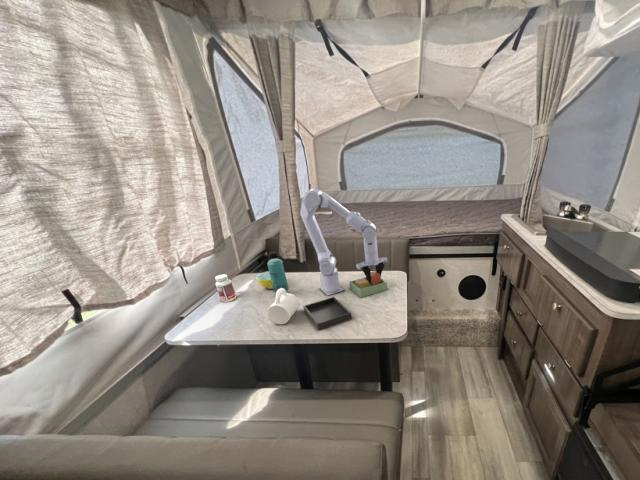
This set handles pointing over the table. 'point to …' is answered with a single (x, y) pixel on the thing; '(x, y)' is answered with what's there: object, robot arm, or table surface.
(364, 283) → the beech block
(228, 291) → the pill bottle
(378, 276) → the terracotta block
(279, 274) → the beverage bottle
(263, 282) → the bowl
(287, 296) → the mug
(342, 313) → the pan
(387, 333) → the table surface
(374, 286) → the bin
